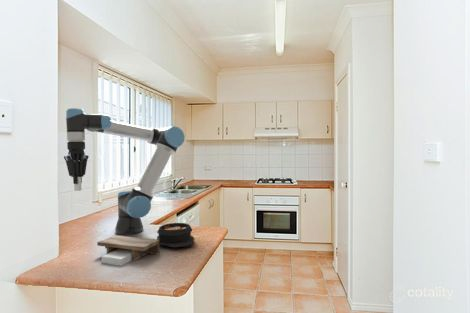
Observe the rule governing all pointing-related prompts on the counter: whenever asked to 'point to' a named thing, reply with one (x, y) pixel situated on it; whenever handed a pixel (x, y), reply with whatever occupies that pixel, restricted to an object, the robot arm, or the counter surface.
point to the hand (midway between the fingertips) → (78, 190)
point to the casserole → (175, 235)
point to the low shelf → (131, 245)
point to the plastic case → (118, 257)
